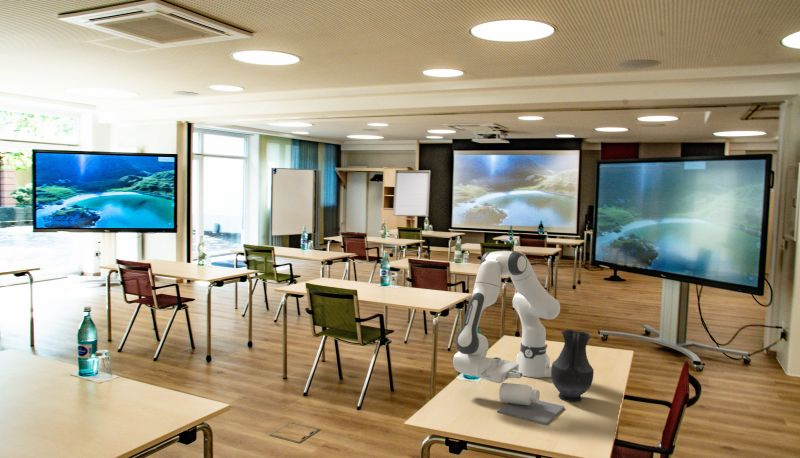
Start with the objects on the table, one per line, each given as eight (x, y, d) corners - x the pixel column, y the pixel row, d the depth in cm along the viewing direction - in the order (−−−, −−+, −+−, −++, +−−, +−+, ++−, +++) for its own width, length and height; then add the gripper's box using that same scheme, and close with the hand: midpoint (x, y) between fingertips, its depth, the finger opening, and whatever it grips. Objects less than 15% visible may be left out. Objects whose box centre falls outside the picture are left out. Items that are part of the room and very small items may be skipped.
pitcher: (590, 394, 261) (595, 327, 259) (592, 411, 241) (597, 338, 239) (550, 389, 266) (554, 322, 264) (548, 404, 246) (553, 333, 244)
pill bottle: (501, 406, 244) (536, 410, 236) (497, 391, 241) (533, 394, 233) (507, 393, 250) (542, 397, 242) (503, 378, 247) (538, 381, 239)
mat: (517, 397, 254) (517, 395, 254) (564, 408, 243) (564, 406, 243) (497, 412, 235) (497, 410, 235) (546, 425, 224) (546, 423, 224)
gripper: (479, 367, 239) (511, 374, 232) (499, 356, 256) (530, 362, 249) (478, 382, 240) (510, 390, 232) (498, 370, 257) (529, 377, 250)
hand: (521, 375), depth 241 cm, fingers closed
